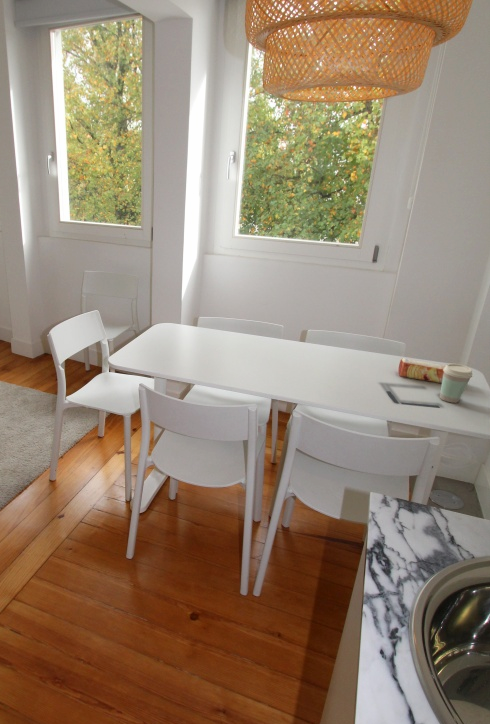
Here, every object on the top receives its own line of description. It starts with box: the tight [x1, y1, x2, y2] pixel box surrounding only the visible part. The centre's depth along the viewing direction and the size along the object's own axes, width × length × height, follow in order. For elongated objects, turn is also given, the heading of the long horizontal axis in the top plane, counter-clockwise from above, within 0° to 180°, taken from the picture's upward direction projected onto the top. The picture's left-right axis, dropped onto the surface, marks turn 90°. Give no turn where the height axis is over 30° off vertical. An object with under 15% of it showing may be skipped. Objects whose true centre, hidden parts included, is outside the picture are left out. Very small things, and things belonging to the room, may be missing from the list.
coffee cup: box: [439, 362, 473, 404], centre depth 162 cm, size 8×8×12 cm
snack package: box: [398, 357, 446, 384], centre depth 178 cm, size 21×7×7 cm, turn 66°
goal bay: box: [386, 390, 441, 409], centre depth 166 cm, size 16×14×1 cm
